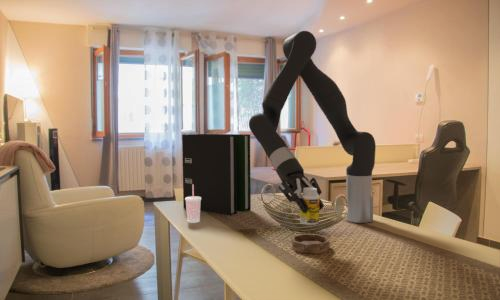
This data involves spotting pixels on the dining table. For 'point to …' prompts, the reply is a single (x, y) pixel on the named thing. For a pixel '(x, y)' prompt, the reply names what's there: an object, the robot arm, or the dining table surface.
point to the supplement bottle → (310, 206)
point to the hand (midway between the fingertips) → (314, 209)
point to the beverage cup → (193, 207)
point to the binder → (217, 171)
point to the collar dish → (310, 243)
